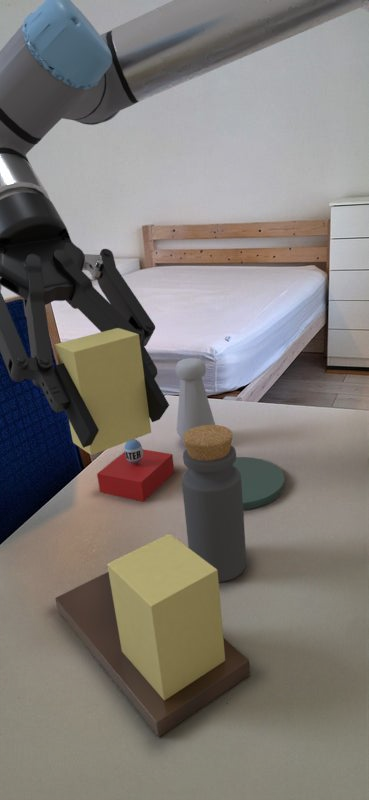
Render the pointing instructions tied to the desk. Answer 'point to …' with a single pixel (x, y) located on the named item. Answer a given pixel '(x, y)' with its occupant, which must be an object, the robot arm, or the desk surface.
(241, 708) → the desk surface
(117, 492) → the red box
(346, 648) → the desk surface
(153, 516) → the desk surface
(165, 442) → the desk surface
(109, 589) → the butter board
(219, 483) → the bottle
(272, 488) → the plate
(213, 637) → the butter block
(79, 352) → the yellow rectangular block
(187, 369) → the salt shaker
